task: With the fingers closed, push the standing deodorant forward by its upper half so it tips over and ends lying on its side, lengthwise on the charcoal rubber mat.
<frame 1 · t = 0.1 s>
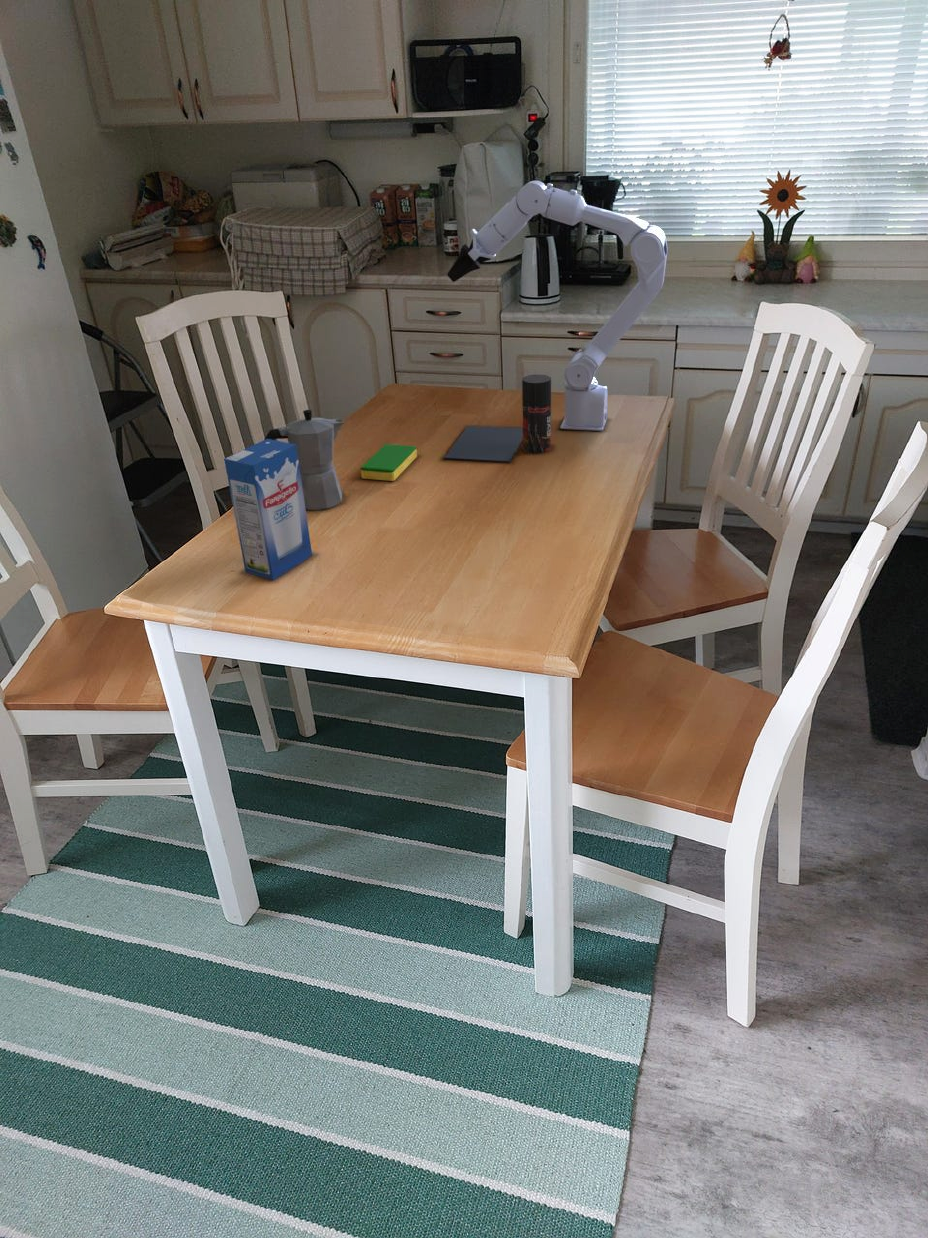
hand: (455, 274, 197), 32 cm above the table, tool tilted 50°, fingers open, 7 cm apart
coffeepot: (314, 502, 176), on the table
milk carton: (279, 564, 155), on the table
dish sponge: (390, 468, 190), on the table
mat: (487, 444, 199), on the table
deodorant: (536, 449, 196), on the table
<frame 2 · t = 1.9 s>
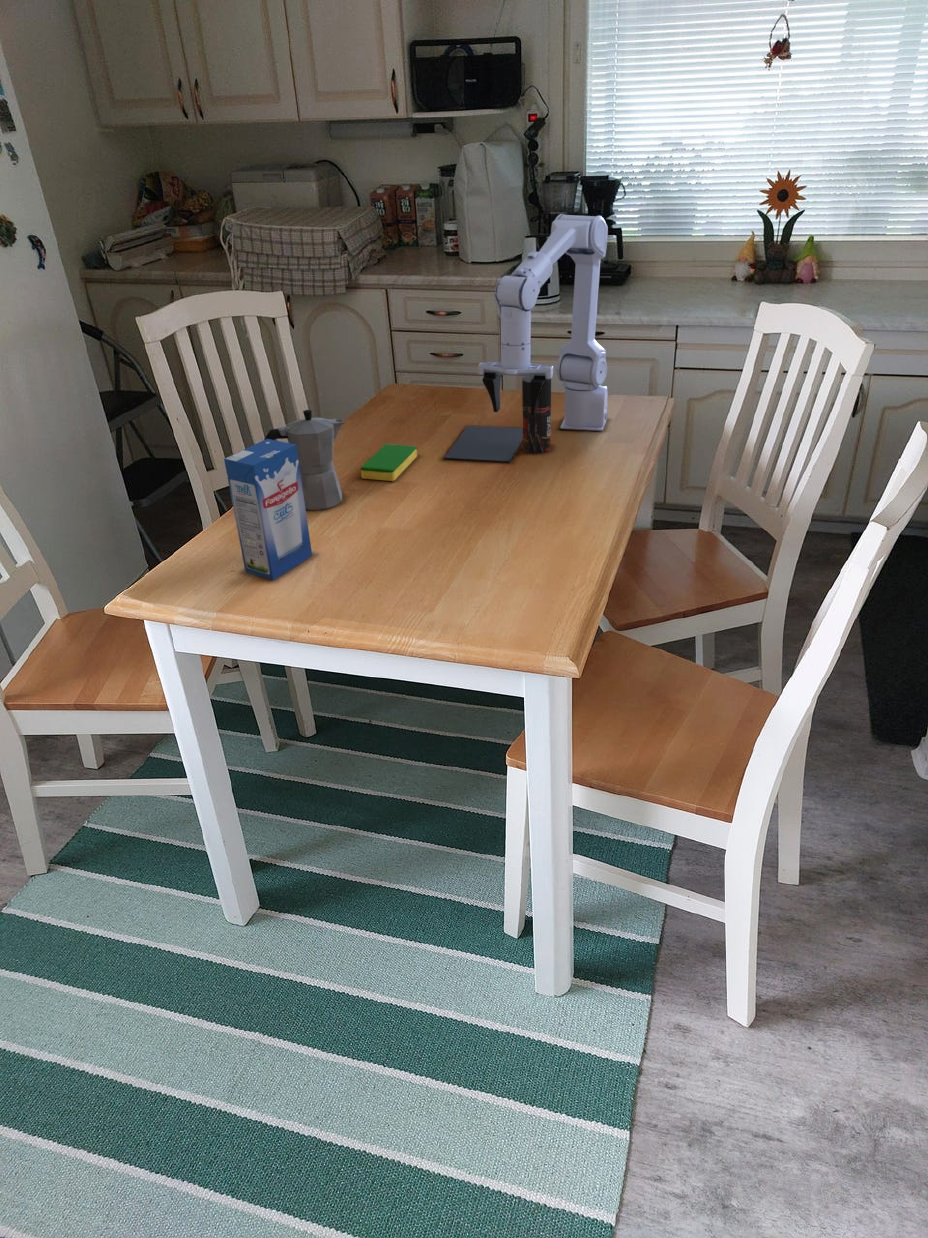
hand: (515, 412, 182), 11 cm above the table, tool pointing down, fingers open, 7 cm apart
nothing on the table moved.
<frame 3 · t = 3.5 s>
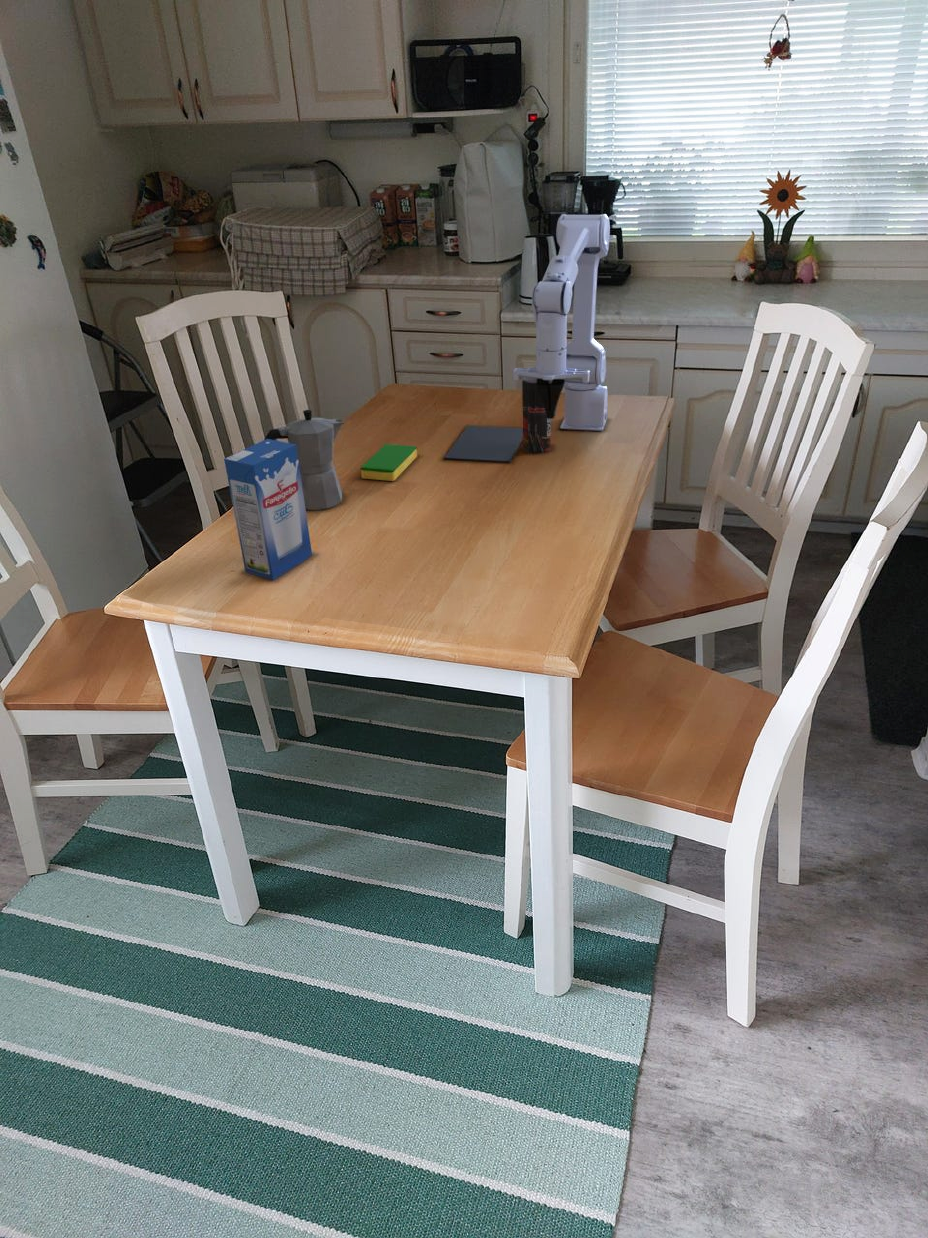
hand: (550, 416, 181), 10 cm above the table, tool pointing down, fingers closed
nothing on the table moved.
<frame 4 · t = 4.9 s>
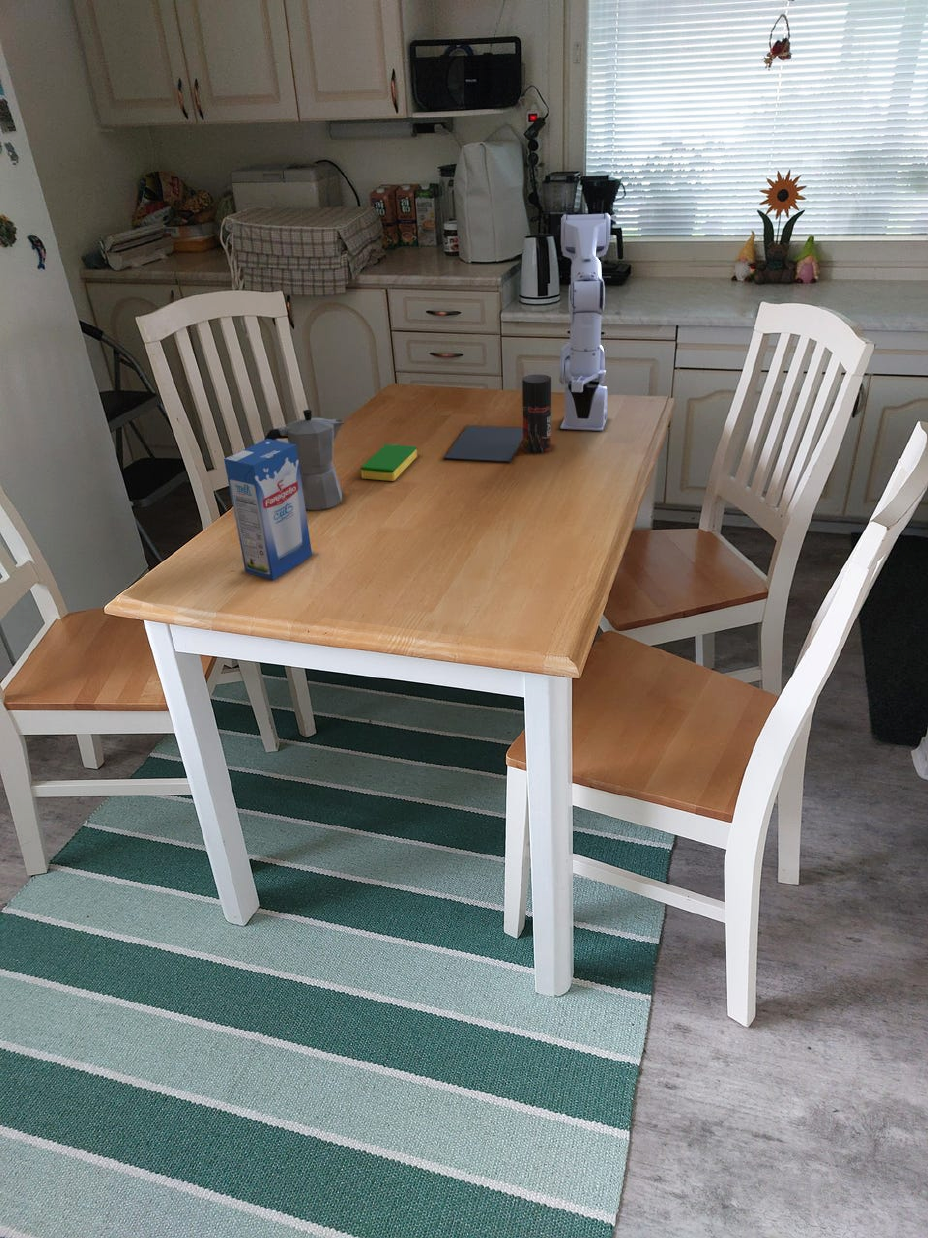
hand: (583, 417, 180), 10 cm above the table, tool pointing down, fingers closed
nothing on the table moved.
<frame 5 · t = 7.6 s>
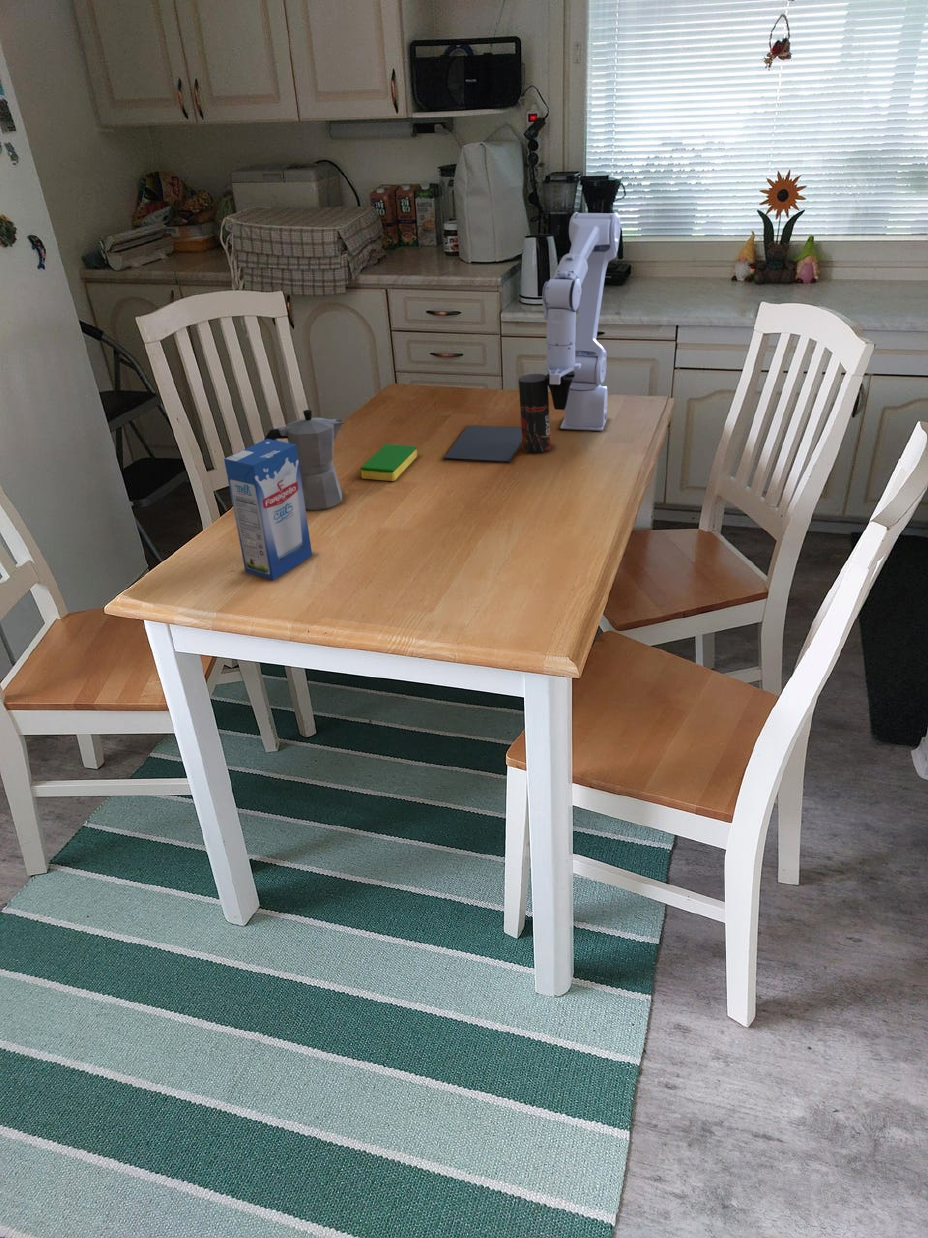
hand: (560, 408, 190), 9 cm above the table, tool pointing down, fingers closed
nothing on the table moved.
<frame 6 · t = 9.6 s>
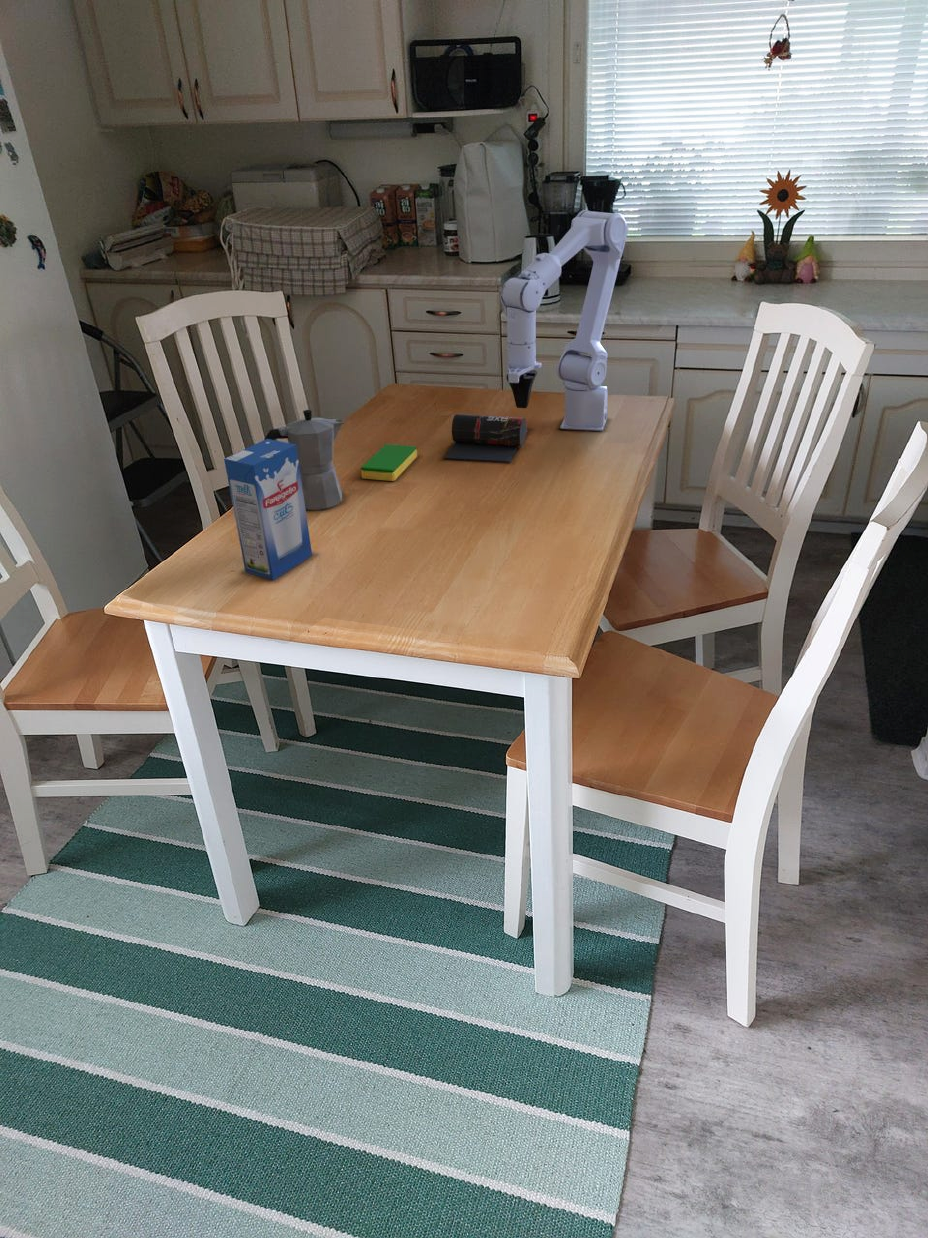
hand: (522, 407, 192), 9 cm above the table, tool pointing down, fingers closed
deodorant: (523, 432, 195), point 3 cm above the table, touching mat
everything else where it was.
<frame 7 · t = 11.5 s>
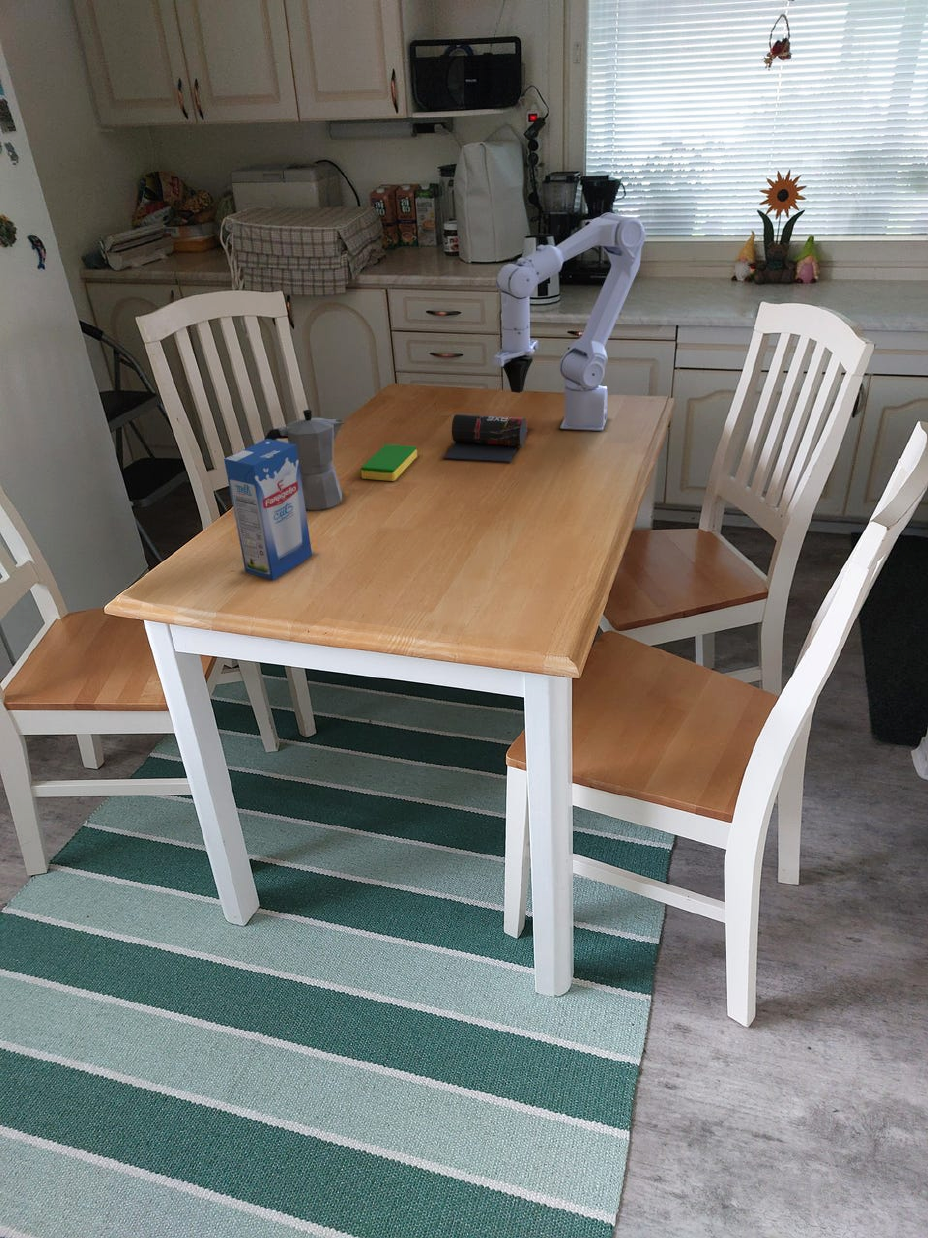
hand: (516, 391, 196), 10 cm above the table, tool pointing down, fingers closed
nothing on the table moved.
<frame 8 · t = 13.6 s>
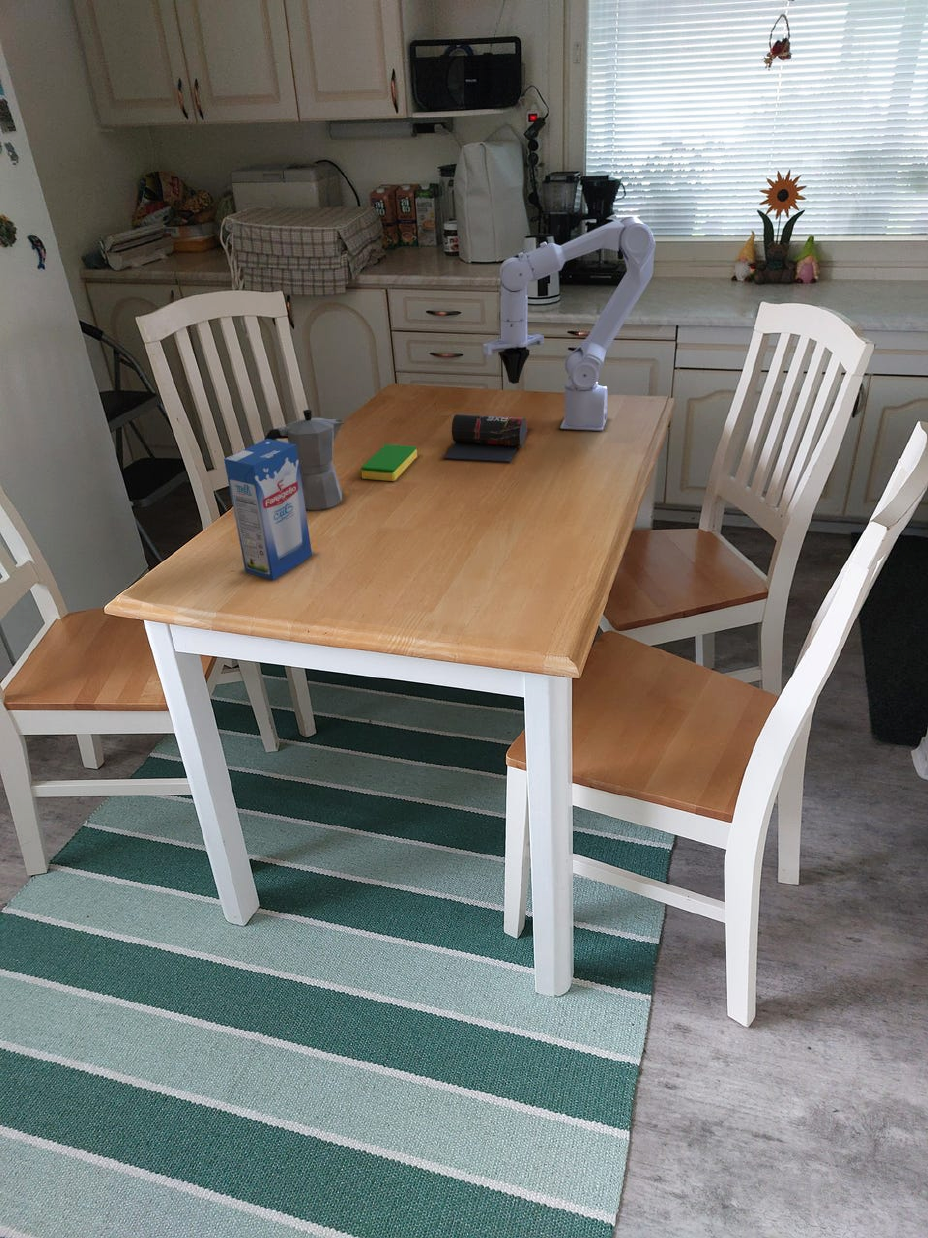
hand: (513, 382, 202), 10 cm above the table, tool pointing down, fingers closed
nothing on the table moved.
at the end: deodorant tilted 90°; deodorant inside the target area (2.7 cm from its centre), point 3.4 cm above the table; deodorant touching mat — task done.
